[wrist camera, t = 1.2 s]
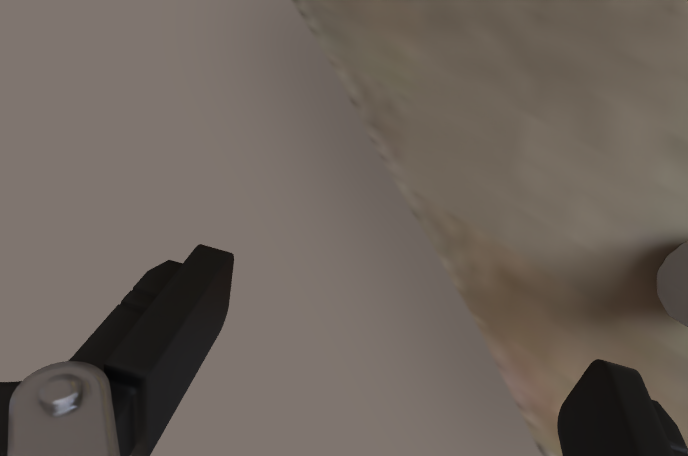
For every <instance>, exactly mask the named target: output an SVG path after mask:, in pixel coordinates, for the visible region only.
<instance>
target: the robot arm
mask: <svg viewBox="0 0 688 456" xmlns="http://www.w3.org/2000/svg"><path fill="white" fill-rule="evenodd" d="M233 264H234V256H233V254H232V253H229V252H226V251H222V250H219V249H215V248H212V247H208V246H205V245H202V244H200V245H198V246H197V247H196V248H195V249H194V250H193V252H192V253H191V254H190V255H189V257H188V258H187V259H186V260H185V262H184V263H183V264H182V263H179V262H175V261H171V260H168V261H166V262H164V263H162V264H160V265H158V266H156V267H155V268H153V269H151V270H149V271H147V273H146V274H145V275H144V276H143V277H142V278H141V279H140V281H139V282H138V283H137V284H136V285H135V286H134V287H133V290H132V291H130V292H129V293H128V294H127V295H126V296H125V297H124V299H123V300H122V301H121V304H120V305H117V307H116V308H115V309H114V310H113V311H112V312H111V313H110V315H109V316H108V317H107V318H106V319H105V320H104V321H103V323H102V324H101V325H100V326H99V327H98V328H97V329H96V331H95V332H94V333H93V334H92V335H91V336H90V337H89V338H88V340H87V341H86V342H85V343H84V344H83V345H82V346H81V348H80V349H79V350H78V351H77V352H76V353H75V355H74V356H73V357H72V358H71V359H70V360H69V361H66V362H60V363H55V364H51V365H49V366H46V367H43V368H41V369H39V370H37V371H35V372H34V373H32V374H31V375H29V376H28V377H27V378H25V379H24V380H23V381H19V382H0V456H150V454H151V453H152V451H153V449H154V447H155V445H156V444H157V442H158V440H159V439H160V437H161V435H162V433H163V432H164V430H165V428H166V426H167V424H168V423H169V421H170V419H171V417H172V416H173V414H174V412H175V410H176V409H177V407H178V405H179V403H180V401H181V400H182V398H183V396H184V394H185V393H186V391H187V389H188V387H189V386H190V384H191V382H192V380H193V379H194V377H195V375H196V373H197V372H198V370H199V368H200V366H201V364H202V363H203V361H204V359H205V357H206V356H207V354H208V352H209V350H210V349H211V347H212V345H213V343H214V342H215V340H216V338H217V336H218V335H219V333H220V331H221V329H222V326H223V324H224V321H225V318H226V315H227V311H228V307H229V299H230V290H231V281H232V273H233ZM558 435H559V440H560V445H561V449H562V454H563V456H688V448H687V446H686V444H685V442H684V440H683V437H682V435H681V433H680V431H679V429H678V426H677V425H676V424H675V422H674V421H673V420H672V419H671V417H670V416H669V415H668V414H667V413H666V411H665V410H664V409H663V408H662V406H661V405H660V404H659V403H658V402H657V401H654V400H651V398H650V396H649V394H648V391H647V389H646V387H645V384H644V382H643V380H642V377H641V375H640V374H639V372H638V371H636V370H635V369H632V368H628V367H625V366H621V365H618V364H614V363H611V362H607V361H604V360H600V359H597V360H595V361H593V362H592V363H591V364H590V365H589V367H588V368H587V370H586V371H585V372H584V374H583V375H582V377H581V378H580V380H579V381H578V383H577V384H576V385H575V387H574V388H573V390H572V391H571V393H570V394H569V395H568V397H567V398H566V400H565V401H564V403H563V404H562V406H561V409H560V412H559V416H558Z"/></svg>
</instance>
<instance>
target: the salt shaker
mask: <svg viewBox="0 0 688 456" xmlns="http://www.w3.org/2000/svg"><path fill="white" fill-rule="evenodd" d="M657 294H658V297H659V299H660V301H661V302H662V304H663V306H664V308H665V310H666V312H667V313H668V315H669V316H671V317H672V318H674V319H676V320H677V321H679V322H680V323H682V324H684V325H685V326H687V327H688V242H685V243H683V244H681V245H680V246H679V247H678V248H677V249H676V250H674V251H673V252H672V253H670V254H669V255H668V256H667V257H666V259H665V261H664V262H663V264H662V265H661V266H660V268H659V270H658V272H657Z"/></svg>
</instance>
